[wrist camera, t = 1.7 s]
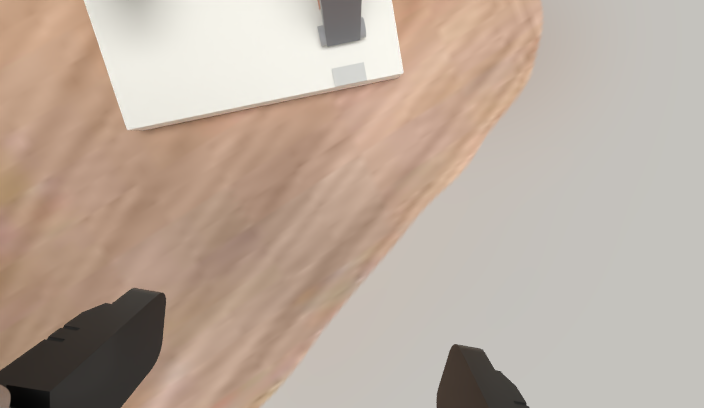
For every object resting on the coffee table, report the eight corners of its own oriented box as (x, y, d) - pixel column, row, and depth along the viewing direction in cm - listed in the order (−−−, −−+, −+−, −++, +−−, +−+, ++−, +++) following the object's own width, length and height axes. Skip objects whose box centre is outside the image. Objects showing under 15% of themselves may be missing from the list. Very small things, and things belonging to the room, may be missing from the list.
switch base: (144, 130, 35) (125, 130, 32) (79, -72, 31) (49, -95, 28) (397, 77, 35) (404, 72, 32) (363, -127, 32) (366, -157, 28)
